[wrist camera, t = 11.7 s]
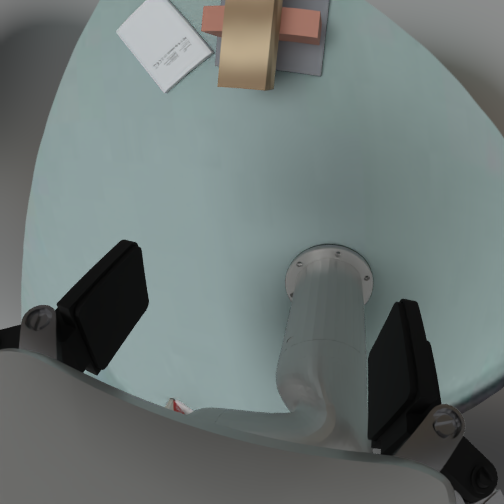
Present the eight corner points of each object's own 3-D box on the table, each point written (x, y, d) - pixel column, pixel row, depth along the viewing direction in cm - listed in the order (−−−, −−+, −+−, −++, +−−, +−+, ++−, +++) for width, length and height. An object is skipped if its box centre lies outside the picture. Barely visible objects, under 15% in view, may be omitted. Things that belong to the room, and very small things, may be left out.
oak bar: (273, 89, 26) (264, 90, 22) (231, 85, 26) (217, 86, 23) (287, -41, 18) (280, -56, 15) (244, -41, 19) (232, -56, 15)
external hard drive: (163, -8, 27) (216, 53, 31) (121, 32, 31) (168, 92, 35) (156, -11, 26) (211, 52, 30) (114, 32, 30) (162, 94, 34)
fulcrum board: (320, 76, 30) (318, 74, 24) (217, 66, 32) (193, 64, 26) (329, -2, 24) (328, -20, 19) (224, -8, 26) (202, -24, 20)
